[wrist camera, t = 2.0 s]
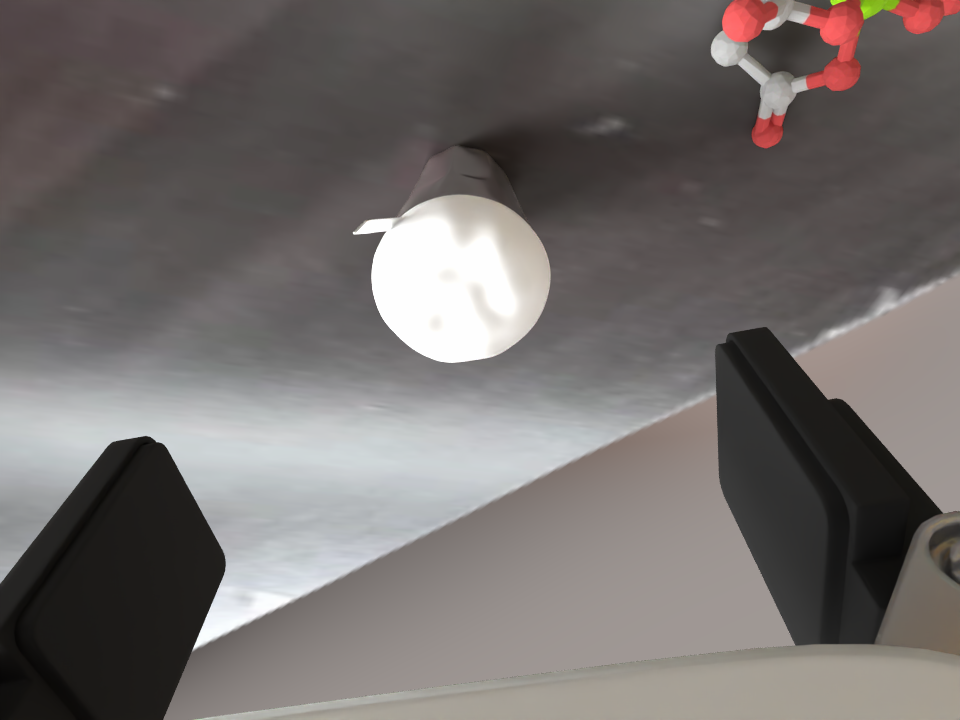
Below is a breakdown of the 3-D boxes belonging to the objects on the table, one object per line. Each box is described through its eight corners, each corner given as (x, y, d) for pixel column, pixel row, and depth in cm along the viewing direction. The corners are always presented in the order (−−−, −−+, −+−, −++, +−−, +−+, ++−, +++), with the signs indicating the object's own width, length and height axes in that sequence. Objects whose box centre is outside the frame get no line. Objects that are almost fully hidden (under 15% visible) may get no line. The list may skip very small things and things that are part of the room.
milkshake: (446, 76, 22) (434, 151, 13) (551, 192, 24) (598, 321, 16) (355, 172, 24) (292, 293, 15) (460, 273, 26) (458, 430, 17)
